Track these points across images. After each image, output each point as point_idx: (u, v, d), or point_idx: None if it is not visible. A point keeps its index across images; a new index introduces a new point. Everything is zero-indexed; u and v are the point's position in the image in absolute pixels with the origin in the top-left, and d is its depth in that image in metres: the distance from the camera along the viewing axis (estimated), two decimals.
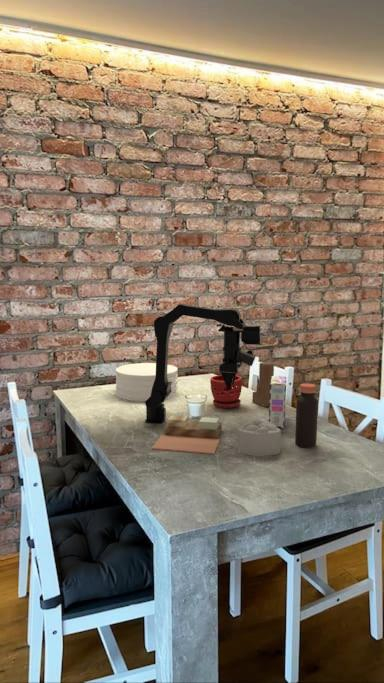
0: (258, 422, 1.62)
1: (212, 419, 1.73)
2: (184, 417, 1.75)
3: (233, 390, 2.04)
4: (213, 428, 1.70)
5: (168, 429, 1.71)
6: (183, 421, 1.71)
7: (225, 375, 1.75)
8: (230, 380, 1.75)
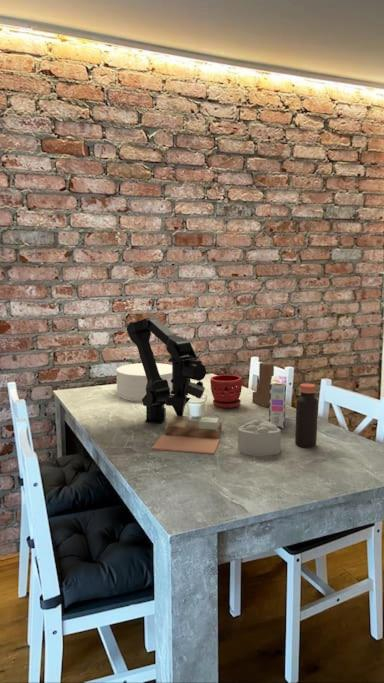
0: (258, 422, 1.62)
1: (212, 419, 1.73)
2: (184, 417, 1.75)
3: (233, 390, 2.04)
4: (213, 428, 1.70)
5: (168, 429, 1.71)
6: (183, 421, 1.71)
7: None
8: (180, 410, 1.76)
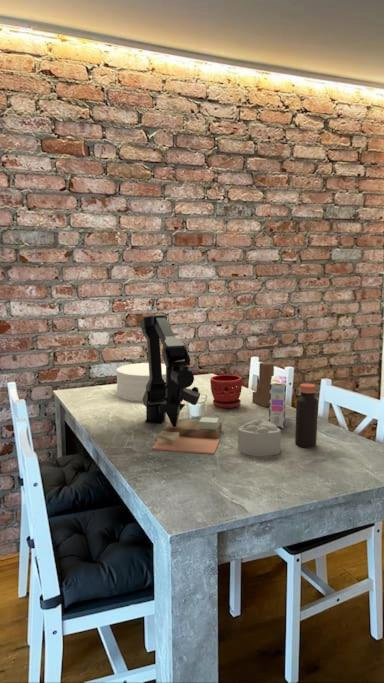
0: (258, 422, 1.62)
1: (212, 419, 1.73)
2: None
3: (233, 390, 2.04)
4: (213, 428, 1.70)
5: (168, 429, 1.71)
6: None
7: None
8: (175, 417, 1.67)
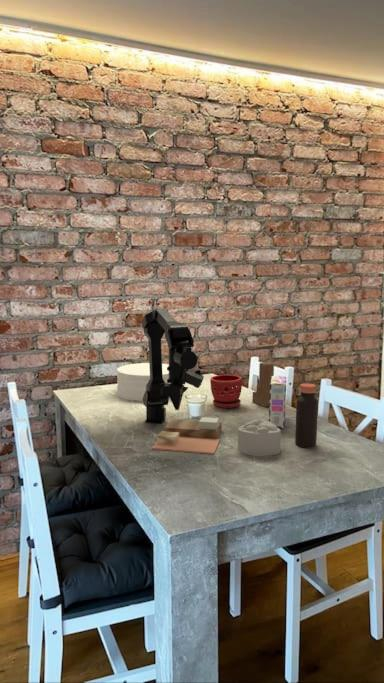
0: (258, 422, 1.62)
1: (212, 419, 1.73)
2: None
3: (233, 390, 2.04)
4: (213, 428, 1.70)
5: (168, 429, 1.71)
6: None
7: (172, 394, 1.63)
8: (177, 400, 1.64)
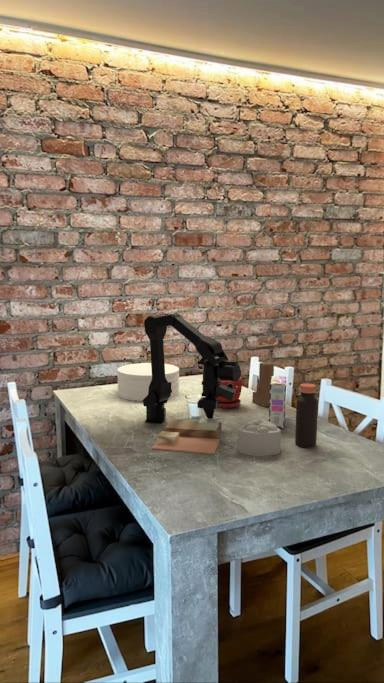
0: (258, 422, 1.62)
1: (212, 420, 1.72)
2: None
3: None
4: (212, 429, 1.69)
5: (168, 429, 1.71)
6: None
7: None
8: (211, 412, 1.73)
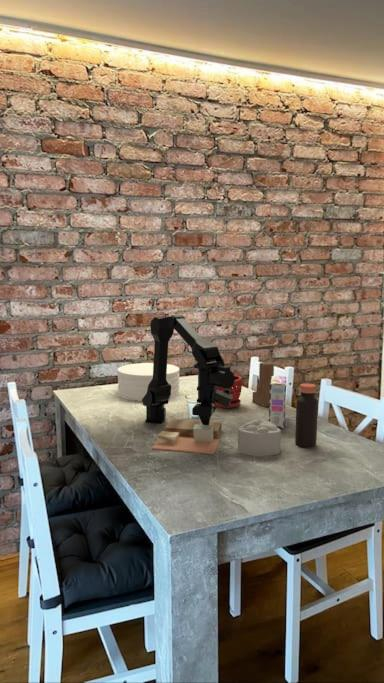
0: (258, 422, 1.62)
1: (205, 434, 1.63)
2: None
3: (233, 390, 2.04)
4: None
5: (168, 429, 1.71)
6: None
7: None
8: (207, 419, 1.64)
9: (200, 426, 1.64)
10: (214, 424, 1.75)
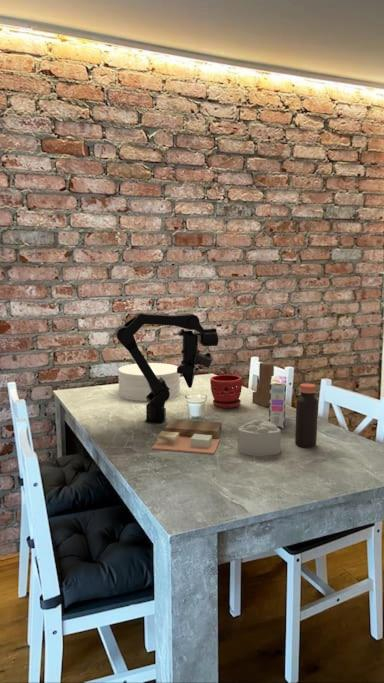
0: (258, 422, 1.62)
1: None
2: None
3: (233, 390, 2.04)
4: None
5: (168, 429, 1.71)
6: None
7: (186, 374, 1.88)
8: (190, 379, 1.89)
9: (196, 442, 1.60)
10: (214, 424, 1.75)
